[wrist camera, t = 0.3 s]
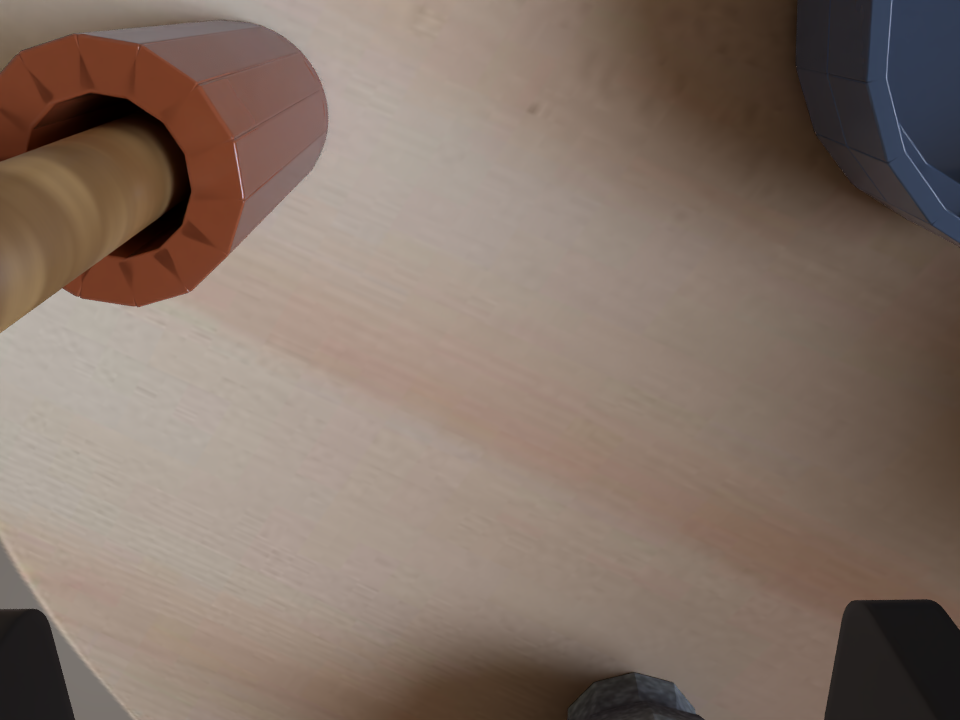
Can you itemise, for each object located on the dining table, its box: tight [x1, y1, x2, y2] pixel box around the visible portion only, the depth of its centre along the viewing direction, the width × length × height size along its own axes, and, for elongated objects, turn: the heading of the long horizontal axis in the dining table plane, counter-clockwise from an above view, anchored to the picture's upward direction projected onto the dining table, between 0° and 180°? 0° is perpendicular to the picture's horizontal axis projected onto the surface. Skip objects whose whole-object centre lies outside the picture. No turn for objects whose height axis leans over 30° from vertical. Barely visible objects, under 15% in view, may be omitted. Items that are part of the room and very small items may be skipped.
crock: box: [0, 20, 328, 307], centre depth 25 cm, size 6×6×12 cm
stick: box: [0, 110, 191, 333], centre depth 20 cm, size 2×2×22 cm
